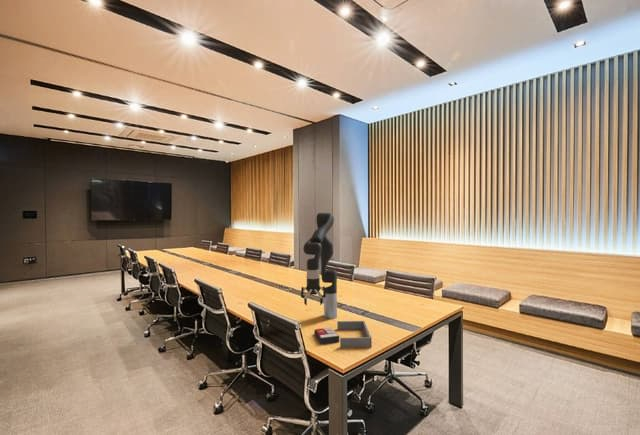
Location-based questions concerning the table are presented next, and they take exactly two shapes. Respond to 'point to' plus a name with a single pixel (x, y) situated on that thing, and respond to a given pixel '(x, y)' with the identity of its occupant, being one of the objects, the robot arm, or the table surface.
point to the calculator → (326, 335)
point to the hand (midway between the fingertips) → (313, 304)
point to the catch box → (354, 341)
